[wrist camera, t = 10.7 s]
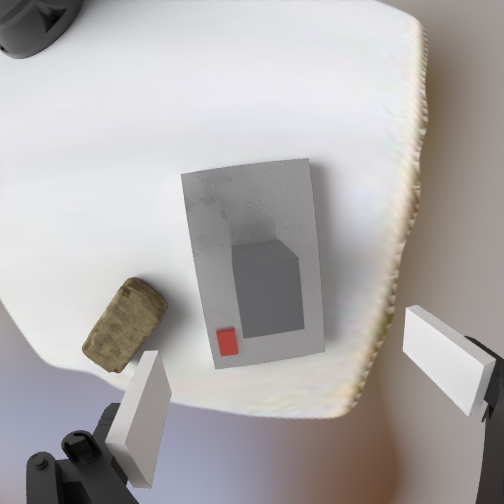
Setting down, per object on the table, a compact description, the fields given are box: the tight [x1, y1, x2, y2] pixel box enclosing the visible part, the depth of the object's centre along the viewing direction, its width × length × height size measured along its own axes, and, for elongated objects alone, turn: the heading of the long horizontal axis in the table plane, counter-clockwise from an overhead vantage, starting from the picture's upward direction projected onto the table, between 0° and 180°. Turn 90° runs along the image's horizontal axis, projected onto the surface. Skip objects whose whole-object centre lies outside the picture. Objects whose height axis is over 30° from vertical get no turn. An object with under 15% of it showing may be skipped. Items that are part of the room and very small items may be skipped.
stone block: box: [82, 277, 167, 373], centre depth 33 cm, size 6×12×5 cm, turn 141°
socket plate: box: [181, 158, 325, 369], centre depth 33 cm, size 22×13×4 cm, turn 7°
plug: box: [231, 240, 305, 339], centre depth 29 cm, size 6×5×12 cm
